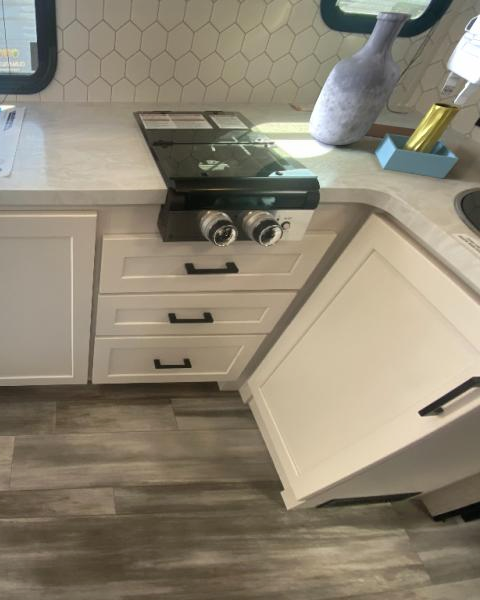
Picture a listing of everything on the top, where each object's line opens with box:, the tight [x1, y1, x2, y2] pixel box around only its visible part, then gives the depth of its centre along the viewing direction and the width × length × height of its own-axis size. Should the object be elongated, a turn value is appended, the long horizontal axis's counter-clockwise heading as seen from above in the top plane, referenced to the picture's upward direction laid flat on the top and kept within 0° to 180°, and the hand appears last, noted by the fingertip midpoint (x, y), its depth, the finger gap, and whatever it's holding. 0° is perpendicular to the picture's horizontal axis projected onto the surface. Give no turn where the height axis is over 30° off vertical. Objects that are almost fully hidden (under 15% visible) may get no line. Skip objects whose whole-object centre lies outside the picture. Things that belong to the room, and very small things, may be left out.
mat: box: [364, 123, 416, 139], centre depth 111 cm, size 18×14×1 cm
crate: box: [374, 133, 459, 179], centre depth 91 cm, size 13×13×5 cm
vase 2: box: [402, 102, 461, 154], centre depth 88 cm, size 6×6×14 cm
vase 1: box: [308, 11, 413, 146], centre depth 93 cm, size 16×16×30 cm
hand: (450, 99), depth 82 cm, fingers open, 8 cm apart
